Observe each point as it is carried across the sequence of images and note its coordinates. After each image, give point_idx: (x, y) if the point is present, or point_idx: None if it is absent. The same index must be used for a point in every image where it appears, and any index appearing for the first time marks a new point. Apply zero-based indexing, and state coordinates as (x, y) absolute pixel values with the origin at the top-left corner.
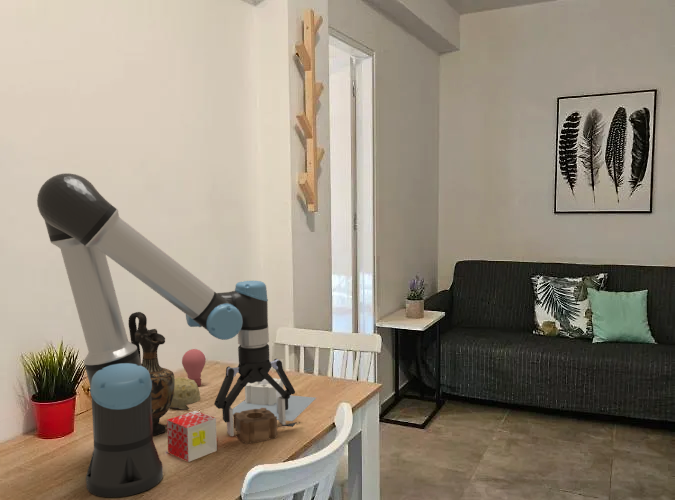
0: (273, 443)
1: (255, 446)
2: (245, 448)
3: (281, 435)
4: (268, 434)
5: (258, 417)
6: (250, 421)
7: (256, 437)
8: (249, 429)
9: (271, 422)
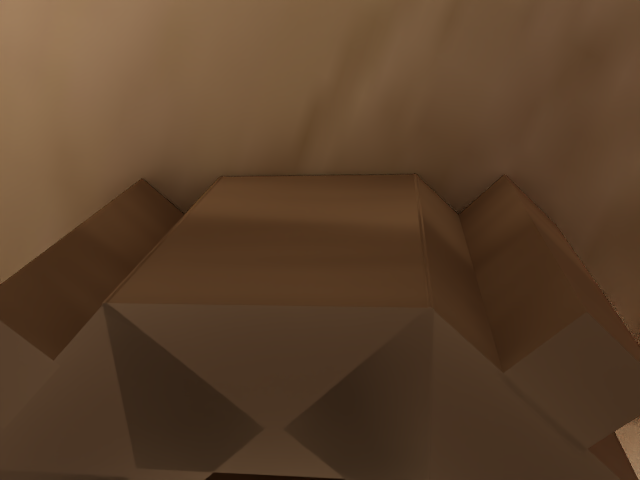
0: (198, 31)
1: (455, 49)
2: (609, 47)
3: (48, 226)
4: (205, 197)
5: None
6: (484, 387)
7: (389, 195)
8: (505, 278)
9: (78, 301)
